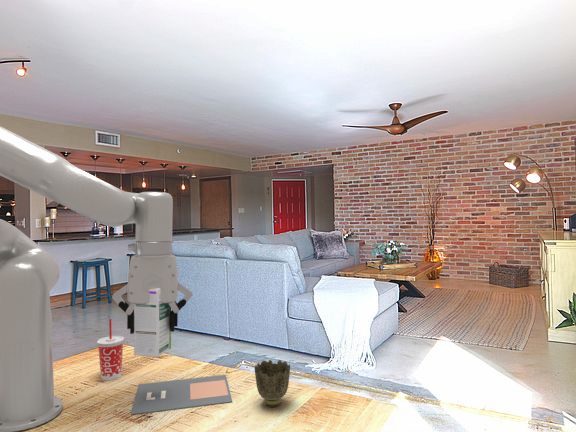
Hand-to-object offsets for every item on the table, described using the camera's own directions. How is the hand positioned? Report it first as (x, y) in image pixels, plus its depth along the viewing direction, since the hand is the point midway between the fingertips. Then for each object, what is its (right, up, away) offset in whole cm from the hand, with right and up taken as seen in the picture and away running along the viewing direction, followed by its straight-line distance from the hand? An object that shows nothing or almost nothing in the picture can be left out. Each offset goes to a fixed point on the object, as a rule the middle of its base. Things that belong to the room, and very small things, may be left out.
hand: (152, 330), depth 88 cm
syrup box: (0, -5, 0) cm, 5 cm away
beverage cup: (-14, -15, +11) cm, 23 cm away
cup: (+26, -15, -3) cm, 30 cm away
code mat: (+6, -14, +2) cm, 16 cm away
